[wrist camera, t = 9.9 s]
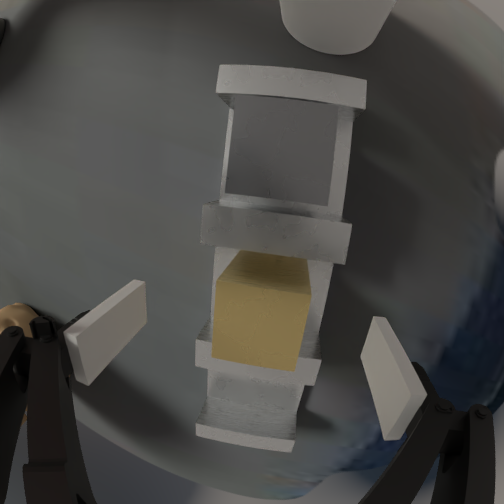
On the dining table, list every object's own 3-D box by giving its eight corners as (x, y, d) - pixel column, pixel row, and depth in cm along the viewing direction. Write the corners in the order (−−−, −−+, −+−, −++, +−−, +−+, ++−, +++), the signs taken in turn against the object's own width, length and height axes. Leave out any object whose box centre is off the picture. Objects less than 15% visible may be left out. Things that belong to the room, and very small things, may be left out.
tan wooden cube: (240, 249, 22) (216, 280, 15) (307, 259, 21) (311, 295, 14) (234, 309, 23) (211, 357, 16) (296, 318, 23) (294, 371, 16)
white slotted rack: (235, 87, 20) (205, 45, 12) (352, 100, 19) (379, 62, 11) (209, 402, 27) (186, 458, 20) (293, 417, 26) (288, 476, 19)
